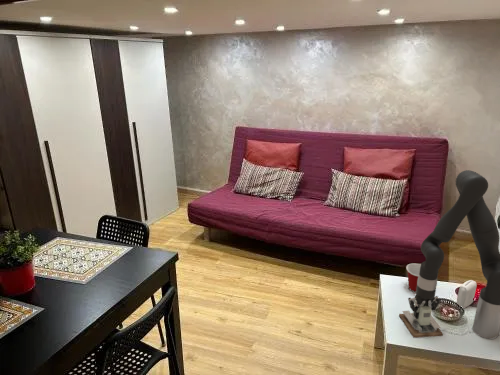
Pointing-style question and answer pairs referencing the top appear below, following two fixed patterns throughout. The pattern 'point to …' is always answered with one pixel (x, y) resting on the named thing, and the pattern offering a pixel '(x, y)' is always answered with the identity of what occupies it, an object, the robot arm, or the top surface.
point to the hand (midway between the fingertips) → (421, 317)
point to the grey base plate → (422, 328)
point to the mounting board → (414, 332)
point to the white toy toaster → (466, 293)
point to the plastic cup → (413, 275)
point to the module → (424, 315)
